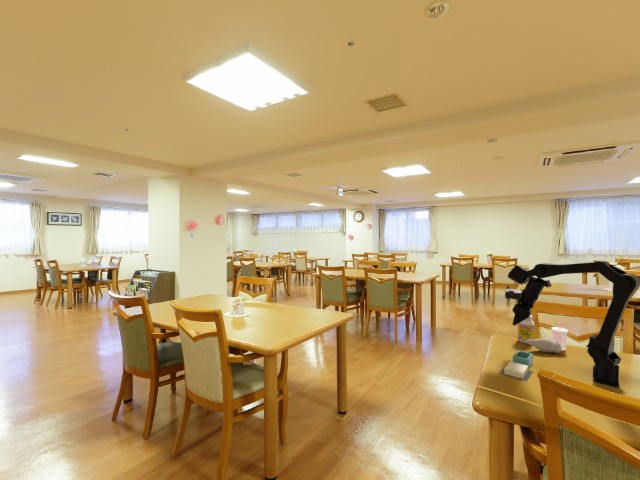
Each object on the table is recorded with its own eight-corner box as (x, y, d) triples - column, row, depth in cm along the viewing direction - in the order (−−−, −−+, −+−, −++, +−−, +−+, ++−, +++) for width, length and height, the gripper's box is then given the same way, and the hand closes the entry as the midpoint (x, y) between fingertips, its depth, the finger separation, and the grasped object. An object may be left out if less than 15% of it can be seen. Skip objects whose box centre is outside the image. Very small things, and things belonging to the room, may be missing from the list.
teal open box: (532, 363, 131) (533, 353, 131) (528, 370, 125) (528, 359, 125) (517, 359, 135) (517, 350, 135) (512, 365, 129) (512, 356, 129)
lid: (528, 370, 123) (528, 365, 123) (522, 378, 117) (522, 373, 117) (510, 366, 127) (510, 361, 127) (504, 373, 121) (504, 368, 121)
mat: (533, 372, 123) (533, 371, 123) (527, 382, 115) (527, 381, 115) (506, 365, 129) (506, 364, 129) (498, 374, 121) (498, 373, 121)
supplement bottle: (516, 341, 157) (516, 315, 157) (519, 338, 162) (520, 312, 161) (532, 345, 152) (533, 317, 152) (535, 341, 157) (536, 315, 157)
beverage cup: (553, 350, 146) (554, 319, 146) (548, 345, 152) (549, 315, 152) (569, 351, 144) (571, 320, 144) (564, 346, 150) (565, 316, 150)
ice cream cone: (520, 349, 147) (558, 357, 143) (526, 344, 142) (565, 353, 138) (519, 336, 150) (556, 344, 147) (525, 331, 145) (563, 339, 142)
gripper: (515, 276, 147) (500, 305, 152) (508, 287, 132) (491, 318, 138) (542, 288, 141) (525, 317, 147) (538, 301, 126) (519, 333, 132)
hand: (515, 321), depth 141 cm, fingers open, 9 cm apart
